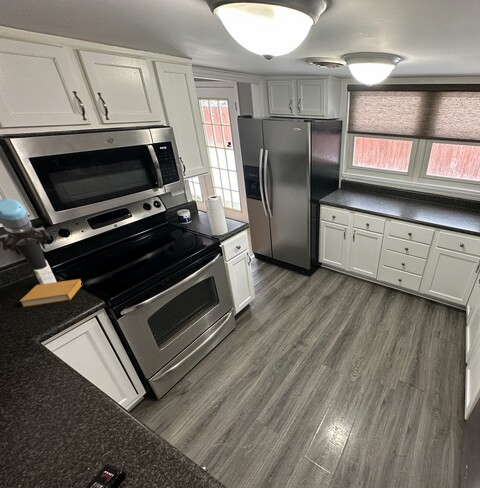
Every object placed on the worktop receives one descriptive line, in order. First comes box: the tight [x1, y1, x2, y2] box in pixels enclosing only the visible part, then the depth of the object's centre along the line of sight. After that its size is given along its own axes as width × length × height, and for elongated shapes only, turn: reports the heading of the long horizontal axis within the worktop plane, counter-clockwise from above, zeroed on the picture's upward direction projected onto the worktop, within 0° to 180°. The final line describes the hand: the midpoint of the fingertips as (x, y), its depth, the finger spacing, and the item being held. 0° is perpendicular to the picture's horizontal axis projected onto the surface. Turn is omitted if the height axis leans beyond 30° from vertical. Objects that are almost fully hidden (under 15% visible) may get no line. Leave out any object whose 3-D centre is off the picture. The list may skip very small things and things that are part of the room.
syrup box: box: [33, 258, 58, 285], centre depth 138 cm, size 6×6×14 cm
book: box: [19, 278, 83, 308], centre depth 133 cm, size 18×14×4 cm
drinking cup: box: [16, 237, 47, 271], centre depth 121 cm, size 8×8×20 cm
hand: (31, 249), depth 123 cm, fingers closed on drinking cup, 8 cm apart
